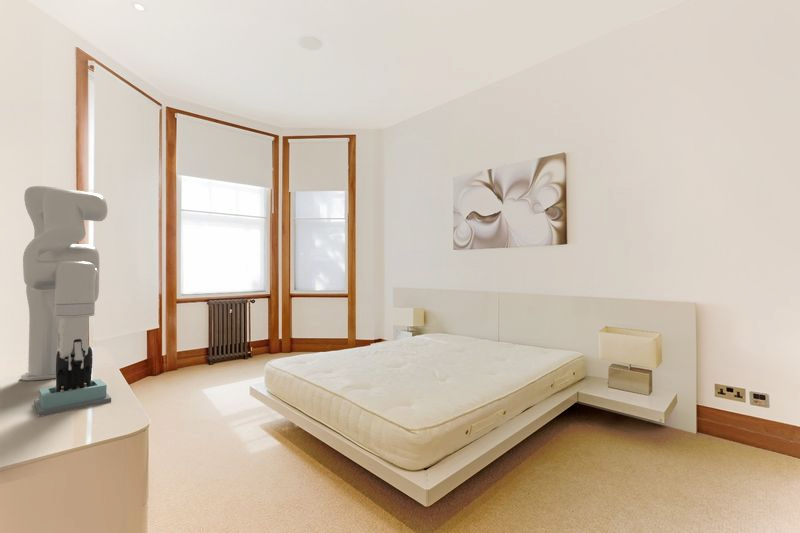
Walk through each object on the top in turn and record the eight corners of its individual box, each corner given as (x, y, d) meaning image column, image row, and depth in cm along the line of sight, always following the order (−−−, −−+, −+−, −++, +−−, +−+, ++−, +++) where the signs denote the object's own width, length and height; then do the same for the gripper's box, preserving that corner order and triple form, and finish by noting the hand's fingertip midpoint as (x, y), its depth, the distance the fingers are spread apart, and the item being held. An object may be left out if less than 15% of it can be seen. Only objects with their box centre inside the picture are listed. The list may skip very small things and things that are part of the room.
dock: (34, 404, 90) (34, 388, 90) (101, 391, 100) (101, 377, 100) (38, 416, 82) (39, 398, 82) (111, 401, 92) (111, 385, 92)
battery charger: (54, 397, 87) (55, 349, 88) (54, 394, 90) (55, 347, 91) (92, 391, 92) (93, 345, 92) (91, 388, 95) (92, 343, 95)
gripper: (50, 309, 94) (48, 381, 94) (59, 314, 83) (57, 395, 83) (88, 307, 100) (86, 375, 99) (101, 311, 89) (99, 387, 88)
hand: (73, 383), depth 91 cm, fingers closed on battery charger, 4 cm apart
